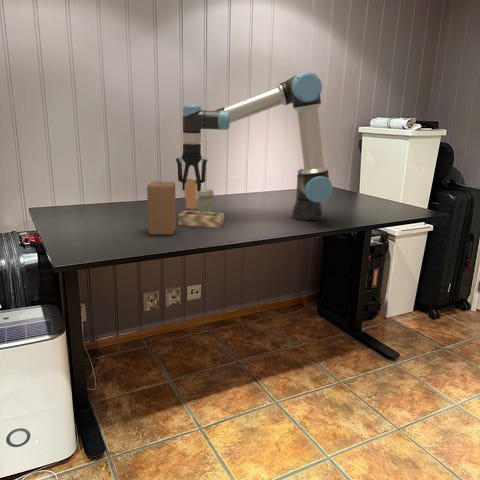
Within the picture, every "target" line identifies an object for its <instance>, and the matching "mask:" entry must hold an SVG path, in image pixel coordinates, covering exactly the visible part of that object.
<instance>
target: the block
mask: <svg viewBox="0 0 480 480" xmlns="http://www.w3.org/2000/svg"><path fill="white" fill-rule="evenodd" d="M146 188H147V189H146V190H147V195H146V197H147V199H146V200H147V224H148V225H147V226H148V228H147V229H148V230H147V231H148V235H153V236H159V235H160V236H173V235H174V233H175V231H176V228H177V222H176V221H177V220H176V219H177V217H176V216H177V213H176V210H177V209H176V205H177V204H176V183H175V182H174V181H153V180H152V181H151V182H149V183H148V184H147V187H146Z"/></svg>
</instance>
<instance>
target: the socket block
mask: <svg viewBox="0 0 480 480" xmlns="http://www.w3.org/2000/svg"><path fill="white" fill-rule="evenodd" d="M224 219H225V213H224V212H212V211H211V212H199V211H198V210H197V211H195V210H183V211H182V212H181V213H179V214H178V225H179V226H187V227H188V226H189V227H204V228H216V229H218V228H219V229H220V228H221V226H222V225H223V224H224V223H225V221H224Z"/></svg>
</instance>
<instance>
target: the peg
mask: <svg viewBox="0 0 480 480" xmlns="http://www.w3.org/2000/svg"><path fill="white" fill-rule="evenodd" d="M195 184H197V180H196V179H190V178H189V179H188V178H187V180H186V199H185V209H193V210H196V208H197V209H198V206H197V199H195Z"/></svg>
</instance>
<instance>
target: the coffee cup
mask: <svg viewBox="0 0 480 480" xmlns="http://www.w3.org/2000/svg"><path fill="white" fill-rule="evenodd" d="M214 193H215V192H214V190H213V189H209V188H201V191H199V198H198V199H197V211H199V212H212V209H213V202H214V201H213V200H214V195H215V194H214Z"/></svg>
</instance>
